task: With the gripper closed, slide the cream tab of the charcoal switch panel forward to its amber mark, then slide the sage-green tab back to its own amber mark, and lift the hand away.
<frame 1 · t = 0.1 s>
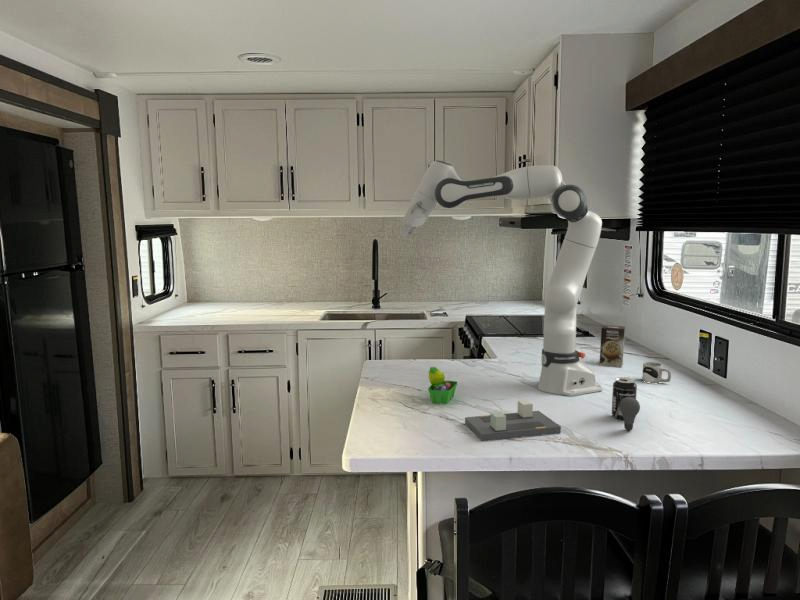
hand: (406, 235, 219), 54 cm above the worktop, tool tilted 30°, fingers open, 8 cm apart
fruit basket: (441, 400, 202), on the worktop
mug: (656, 382, 220), on the worktop
coffee box: (611, 365, 244), on the worktop
beverage can: (623, 418, 183), on the worktop
sage tab: (498, 421, 169), point 4 cm above the worktop, slide at 12.0 cm
switch panel: (511, 428, 174), on the worktop
light bulb: (628, 431, 172), on the worktop
cream tab: (525, 408, 179), point 4 cm above the worktop, slide at 0.0 cm
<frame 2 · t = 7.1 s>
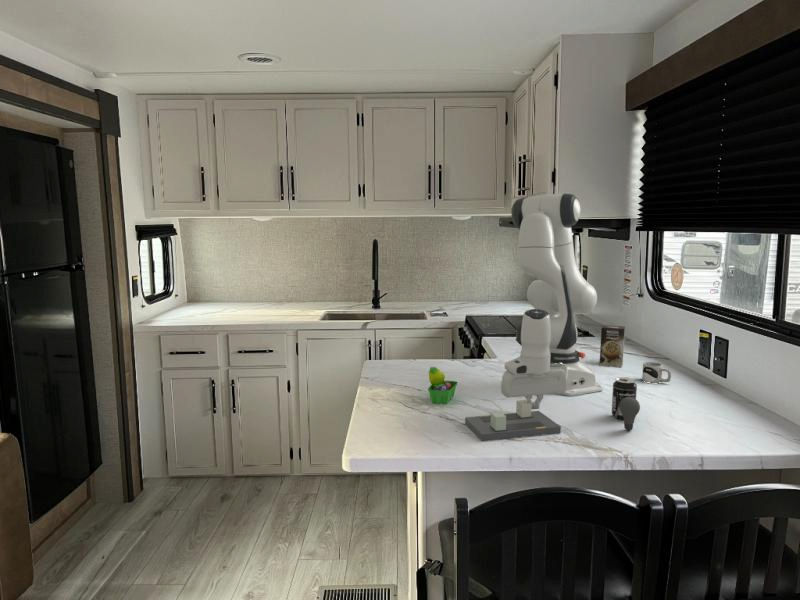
hand: (533, 408, 180), 4 cm above the worktop, tool pointing down, fingers closed
cream tab: (523, 408, 179), point 4 cm above the worktop, slide at 0.4 cm, touching gripper
everything else where it was.
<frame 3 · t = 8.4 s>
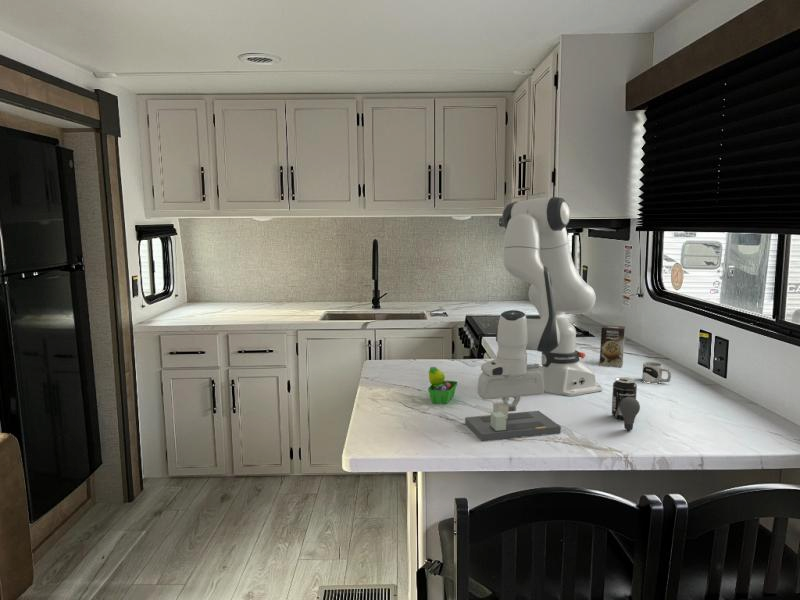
hand: (510, 410, 178), 4 cm above the worktop, tool pointing down, fingers closed
cream tab: (500, 410, 177), point 4 cm above the worktop, slide at 8.0 cm, touching gripper
everything else where it was.
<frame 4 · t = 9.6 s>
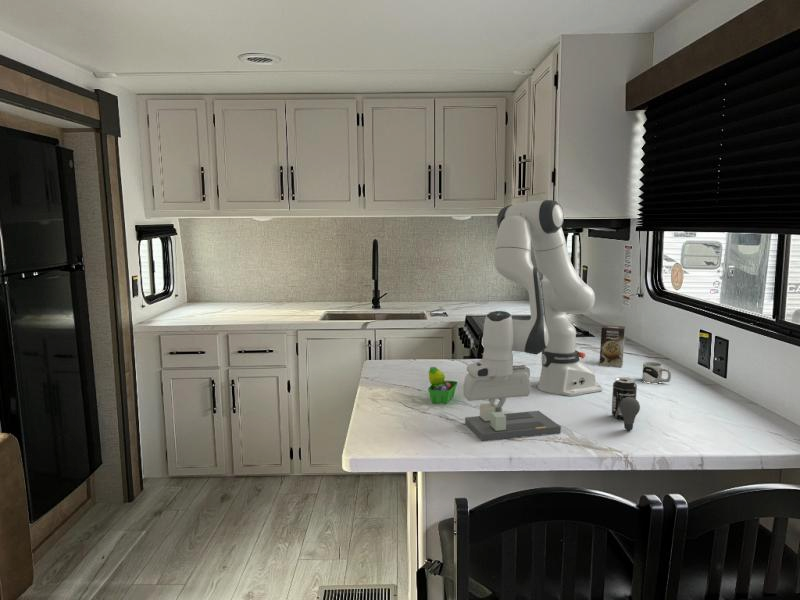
hand: (496, 411, 177), 4 cm above the worktop, tool pointing down, fingers closed
cream tab: (487, 411, 176), point 4 cm above the worktop, slide at 12.2 cm, touching gripper
everything else where it was.
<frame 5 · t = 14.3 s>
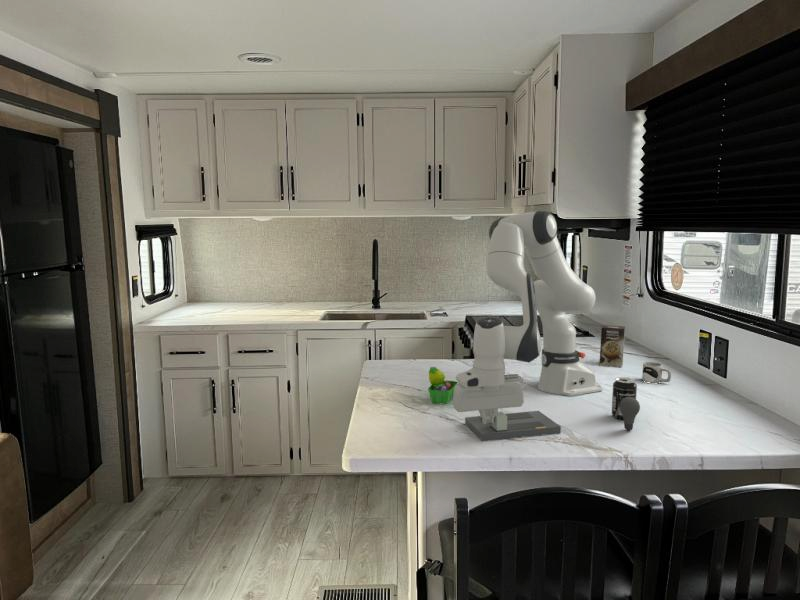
hand: (488, 423, 168), 4 cm above the worktop, tool pointing down, fingers closed
sage tab: (499, 421, 169), point 4 cm above the worktop, slide at 11.6 cm, touching gripper
cream tab: (487, 411, 176), point 4 cm above the worktop, slide at 12.1 cm
everything else where it was.
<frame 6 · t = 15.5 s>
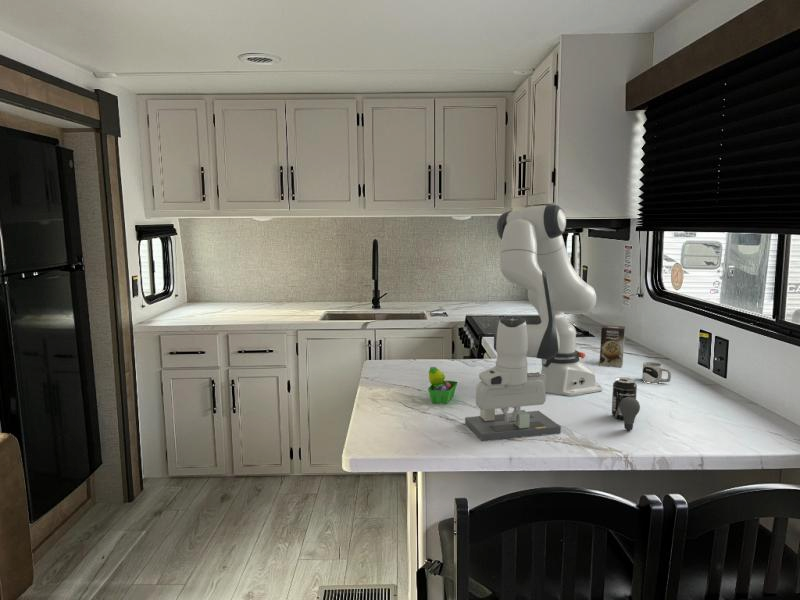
hand: (510, 421, 170), 4 cm above the worktop, tool pointing down, fingers closed
sage tab: (521, 418, 170), point 4 cm above the worktop, slide at 4.8 cm, touching gripper
everything else where it was.
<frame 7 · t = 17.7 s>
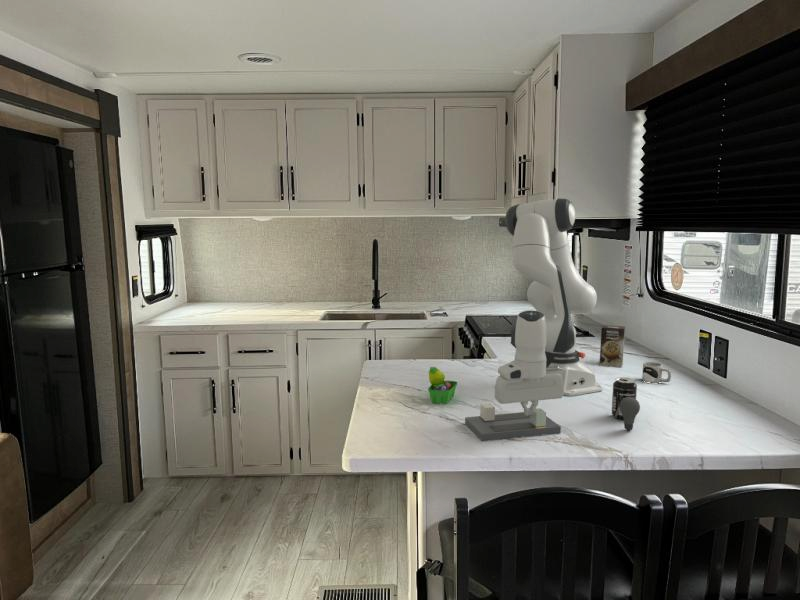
hand: (529, 415, 171), 5 cm above the worktop, tool pointing down, fingers closed
sage tab: (538, 417, 171), point 4 cm above the worktop, slide at -0.3 cm, touching gripper
everything else where it was.
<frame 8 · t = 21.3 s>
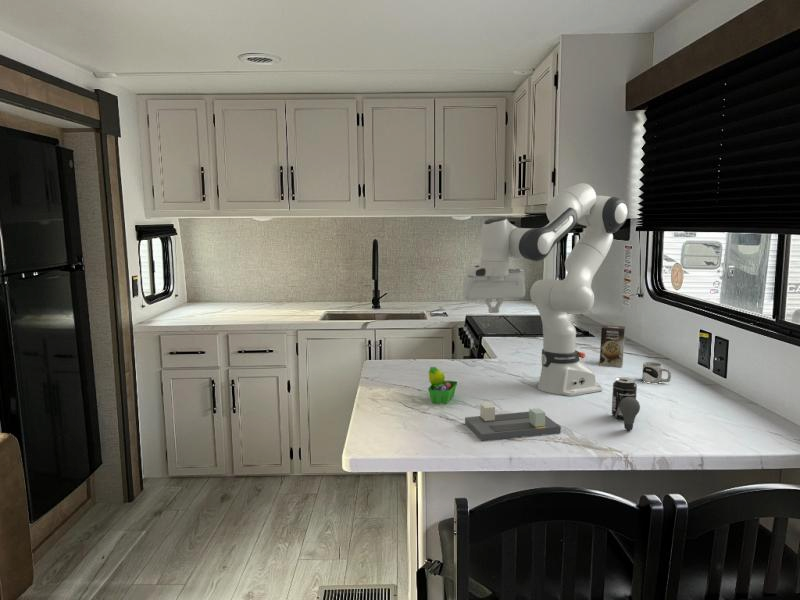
hand: (493, 312, 189), 31 cm above the worktop, tool pointing down, fingers closed
sage tab: (537, 417, 171), point 4 cm above the worktop, slide at -0.1 cm
everything else where it was.
at the end: cream tab slide at 12.1 cm; sage tab slide at -0.1 cm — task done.
